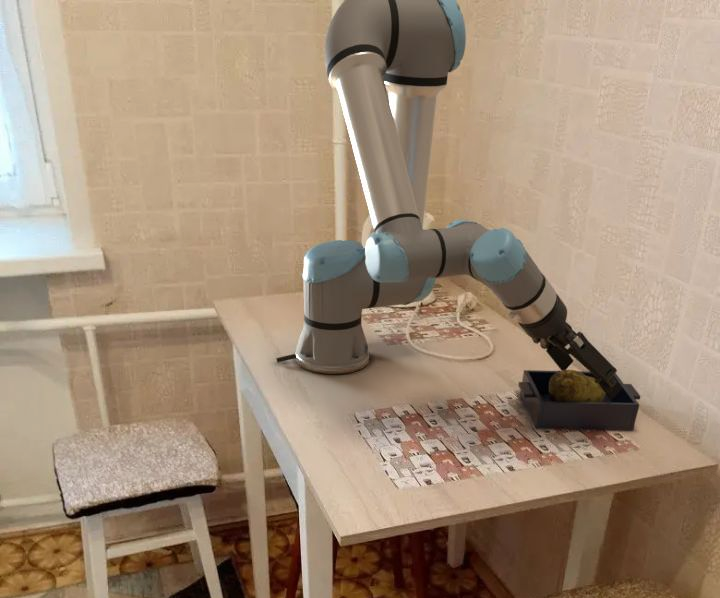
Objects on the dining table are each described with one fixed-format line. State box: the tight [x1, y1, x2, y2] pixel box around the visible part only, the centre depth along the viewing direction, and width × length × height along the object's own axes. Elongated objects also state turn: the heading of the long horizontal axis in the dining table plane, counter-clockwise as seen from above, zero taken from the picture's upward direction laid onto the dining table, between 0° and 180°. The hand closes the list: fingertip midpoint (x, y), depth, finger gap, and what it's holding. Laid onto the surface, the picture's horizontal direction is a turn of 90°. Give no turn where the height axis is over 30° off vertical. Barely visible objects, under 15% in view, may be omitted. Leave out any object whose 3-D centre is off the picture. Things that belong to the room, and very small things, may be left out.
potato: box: [549, 369, 606, 402], centre depth 133 cm, size 8×13×8 cm, turn 104°
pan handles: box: [517, 381, 641, 401], centre depth 134 cm, size 21×5×1 cm, turn 91°
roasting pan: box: [519, 369, 640, 431], centre depth 135 cm, size 17×14×5 cm
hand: (590, 378), depth 133 cm, fingers open, 12 cm apart
